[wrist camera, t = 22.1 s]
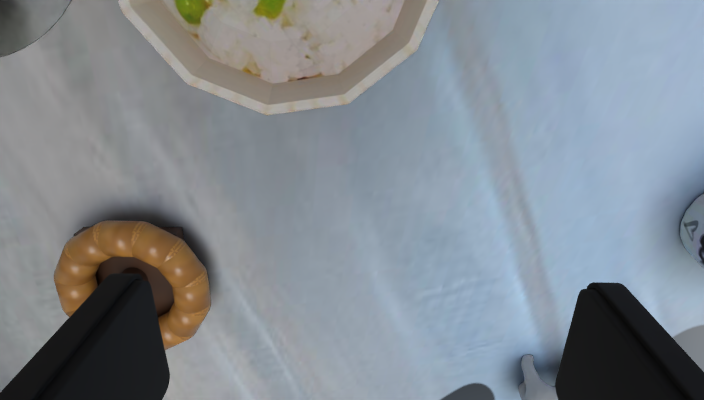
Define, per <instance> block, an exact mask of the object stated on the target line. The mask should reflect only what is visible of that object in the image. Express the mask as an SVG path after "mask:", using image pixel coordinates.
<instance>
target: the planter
mask: <svg viewBox="0 0 704 400" xmlns="http://www.w3.org/2000/svg"><path fill="white" fill-rule="evenodd" d="M70 1H71V0H0V57H2V56H6V55H9V54H11V53H14V52H16V51H18V50H20V49H22V48H24V47H26V46H28V45H30V44H31V43H33V42H34V41H36V40H37V39H39V38H40V37H41V36H42V35H44V34H45V33H46V32H47V31H48V30H49V29H50V28H51V27H52V26H53V25H54V24H55V23H56V22H57V20H58V19H59V18H60V17H61V15H62V14H63V13H64V11H65V10H66V8H67V6H68V5H69V3H70Z"/></svg>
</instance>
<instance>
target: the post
mask: <svg viewBox="0 0 704 400" xmlns="http://www.w3.org/2000/svg"><path fill="white" fill-rule="evenodd" d="M88 228H90V227H83V228H82V229H80V230H79V231H78V232H76V233H75V234H74V236H76V235H78V234H80V233H81V232H83V231H85V230H87V229H88ZM159 228H161V229H163V230H165V231H167V232H169V233H171V234H173V235H175V236H177V237H179V238H181V239H182V240H183V241H184V236H183V230H182V227H159ZM113 273H122V274H139V275H141V276H142V278H143V280H144V281H149V283H150V284H151V288H152V292H153V297H154V302H155V307H156V311H157V316H158V317H160V316H162V315H164V314H166V313H168V312H169V311H170V309H171V307H172V305H173V303H174V296H173V290H172V285H171V284H170V283H169V282H168V281H167V279H166V278H165V277H164V276H163V275H162V273H161V272H160V271H159V270H158V269H157V268H156V267H154V266H152V265H150V264H148V263H145V262H143V261H141V260H139V259H137V258H135V257H111V258H109V259H107V260H106V261H104V262H102V263H100V265H99V268H98V270H97V272H96V274H95V276H96V280H97V284H98V286H99V285H100V284H101V283H102V282H103V280H104V279H105V278H106V277H107V276H108V275H110V274H113Z"/></svg>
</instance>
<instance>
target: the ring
mask: <svg viewBox="0 0 704 400" xmlns="http://www.w3.org/2000/svg"><path fill="white" fill-rule="evenodd" d="M111 257H135V258H137V259H139V260H141V261H143V262H145V263H148V264H150V265H152V266H154V267H156V268H157V269H158V270H159V271H160V272H161V273H162V275H163V276H164V277H165V278H166V279H167V281H168V282H169V283H170V284H171V285H172V290H173V296H174V303H173V305H172V307H171V309H170V311H169V312H168V313H166V314H164V315H162V316H160V317H158V321H159V325H160V330H161V335H162V339H163V344H164V349H165V350H167V349H169V348H171V347H173V346H175V345H177V344H179V343H182V342H184V341H186V340H188V339H190V338H191V337H192V336H194V334H195V333H196V332H197V330H198V328H199V327H200V325H201V323H202V321H203V320H204V318H205V316H206V314H207V313H208V311H209V309H210V306H211V297H210V289H209V281H208V274H207V270H206V268H205V267H204V265H203V264H202V263H201V262H200V260H199V259H198V258H197V257H196V255H195V254H194V253H193V252H192V250H191V249H190V248H189V246H188V245H187V244H186V243H185V242H184V241H183V240H182V239H181V238H179V237H177V236H175V235H173V234H171V233H169V232H167V231H165V230H163V229H161V228H159V227H157V226H155V225H153V224H151V223H148V222H144V221H111V220H108V221H102V222H99V223H97V224H95V225H94V226H92V227H90V228H88V229H87V230H85V231H83V232H81V233H80V234H78V235H76V236H74V237H73V238H71V239H70V240H69V241H68V242H67V243H66V244H65V246H64V249H63V251H62V254H61V256H60V259H59V261H58V264H57V266H56V269H55V272H54V282H55V285H56V289H57V292H58V296H59V299H60V303H61V306H62V309H63V311H64V312H65V313H66V314H67V315H68V316H69V317H70V316H71V315H72V314H73V313H74V312H75V311H76V310H77V309H78V308H79V307H80V306H81V304H82V303H83V302H84V301H85V300H86V299H87V298H88V297H89V296H90V295H91V294H92V292H93V291H94V290H95V289H96V288H97V287H98V284H97V280H96V276H95V274H96V272H97V270H98V268H99V265H100V263H102V262H104V261H106V260H107V259H109V258H111Z"/></svg>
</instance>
